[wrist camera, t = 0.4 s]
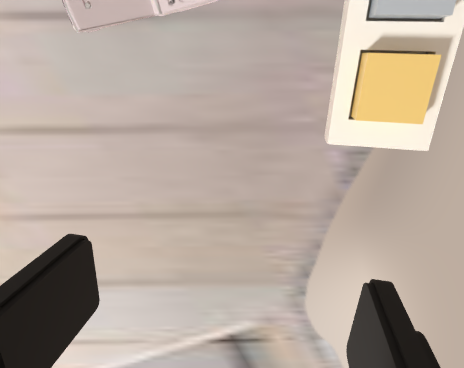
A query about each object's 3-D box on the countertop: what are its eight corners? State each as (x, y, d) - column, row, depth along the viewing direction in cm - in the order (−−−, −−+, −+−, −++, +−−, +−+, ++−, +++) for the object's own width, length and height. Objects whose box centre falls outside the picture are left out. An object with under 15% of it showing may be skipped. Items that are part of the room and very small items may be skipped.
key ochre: (362, 53, 29) (368, 52, 27) (429, 55, 28) (441, 54, 26) (350, 116, 32) (355, 120, 29) (412, 119, 31) (422, 124, 28)
